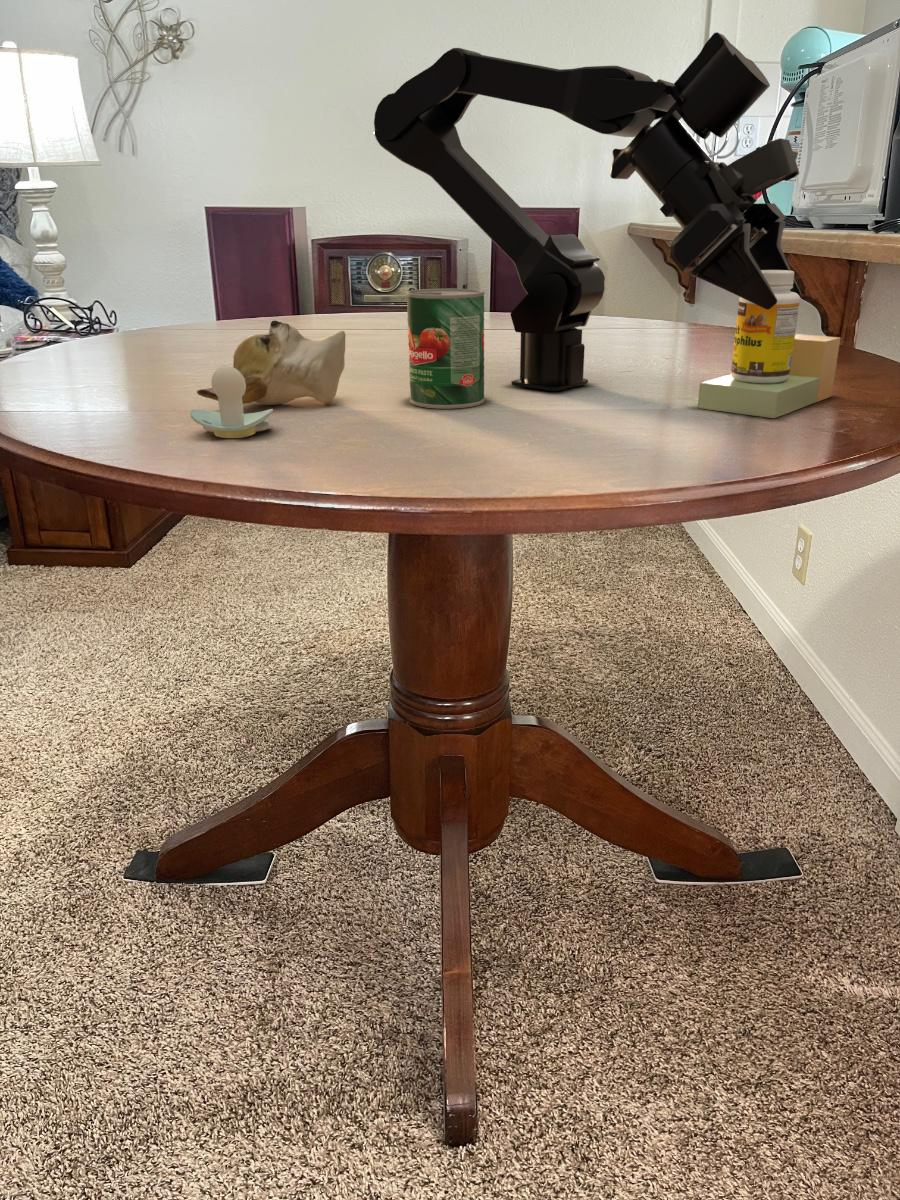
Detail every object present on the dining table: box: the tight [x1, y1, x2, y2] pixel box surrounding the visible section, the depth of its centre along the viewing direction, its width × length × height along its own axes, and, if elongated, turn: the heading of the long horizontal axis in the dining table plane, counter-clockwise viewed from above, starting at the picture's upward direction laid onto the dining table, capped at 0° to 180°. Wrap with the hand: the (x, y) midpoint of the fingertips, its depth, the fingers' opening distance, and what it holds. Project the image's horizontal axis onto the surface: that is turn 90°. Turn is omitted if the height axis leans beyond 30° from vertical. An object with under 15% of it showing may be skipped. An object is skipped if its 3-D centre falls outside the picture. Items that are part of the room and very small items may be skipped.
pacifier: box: [189, 365, 274, 439], centre depth 80 cm, size 7×6×6 cm
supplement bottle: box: [730, 270, 801, 384], centre depth 87 cm, size 6×6×10 cm
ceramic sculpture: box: [196, 320, 347, 406], centre depth 92 cm, size 11×9×15 cm
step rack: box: [697, 333, 841, 419], centre depth 90 cm, size 8×14×6 cm, turn 138°
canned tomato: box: [405, 287, 486, 410], centre depth 91 cm, size 8×8×11 cm
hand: (785, 301), depth 85 cm, fingers open, 9 cm apart
